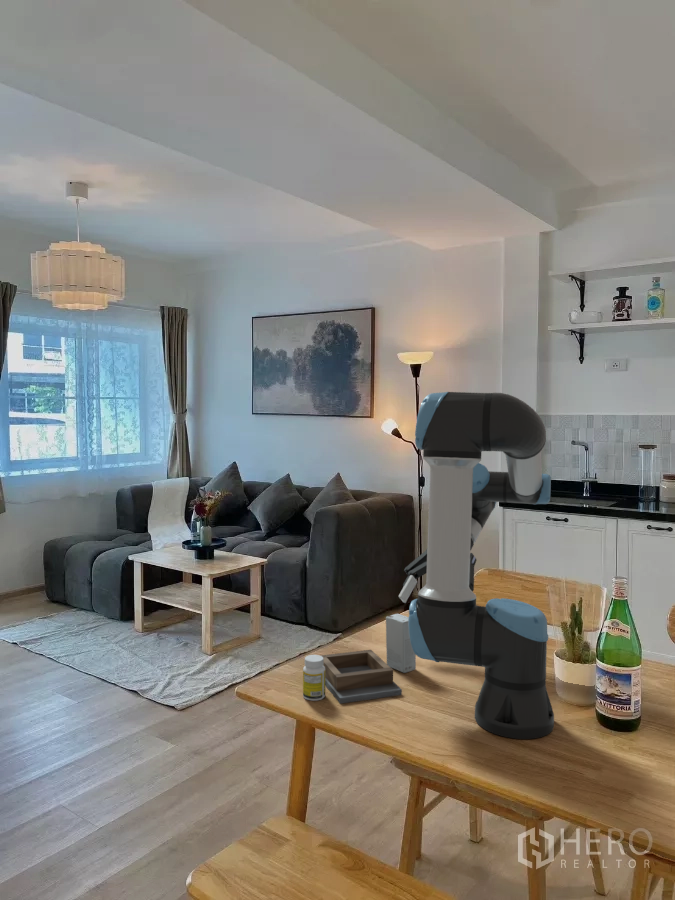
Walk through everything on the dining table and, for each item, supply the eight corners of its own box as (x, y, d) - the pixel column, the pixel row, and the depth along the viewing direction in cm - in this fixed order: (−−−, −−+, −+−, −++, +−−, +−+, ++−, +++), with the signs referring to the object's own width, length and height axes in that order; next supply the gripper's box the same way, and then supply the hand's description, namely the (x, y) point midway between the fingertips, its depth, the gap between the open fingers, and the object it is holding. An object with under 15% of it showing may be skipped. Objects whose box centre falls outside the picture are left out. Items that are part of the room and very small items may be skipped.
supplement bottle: (312, 690, 151) (312, 652, 151) (329, 695, 149) (330, 657, 148) (298, 697, 147) (298, 658, 147) (316, 703, 145) (316, 663, 144)
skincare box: (416, 669, 163) (417, 618, 163) (402, 674, 161) (403, 622, 160) (398, 661, 168) (399, 612, 167) (384, 666, 165) (385, 615, 164)
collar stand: (401, 694, 149) (402, 675, 149) (339, 703, 145) (340, 683, 144) (367, 661, 168) (367, 644, 168) (311, 668, 163) (311, 650, 163)
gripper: (508, 553, 172) (471, 626, 163) (429, 537, 190) (391, 602, 181) (497, 534, 168) (458, 608, 159) (417, 520, 186) (378, 586, 177)
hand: (422, 605), depth 170 cm, fingers open, 13 cm apart
